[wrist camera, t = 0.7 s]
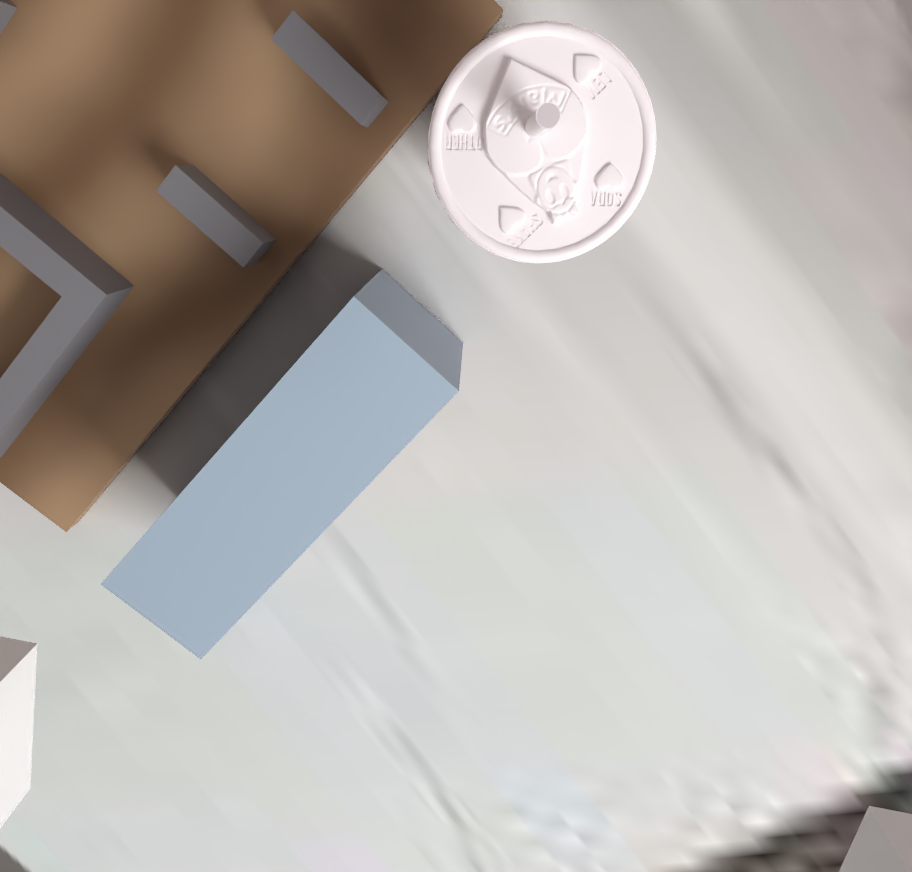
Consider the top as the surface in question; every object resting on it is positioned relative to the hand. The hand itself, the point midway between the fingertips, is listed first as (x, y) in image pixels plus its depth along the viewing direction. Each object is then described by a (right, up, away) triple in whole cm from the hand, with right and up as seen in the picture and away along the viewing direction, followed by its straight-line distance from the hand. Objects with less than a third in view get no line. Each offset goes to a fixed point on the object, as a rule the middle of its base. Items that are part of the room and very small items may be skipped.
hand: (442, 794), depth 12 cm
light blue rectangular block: (-6, +6, +22) cm, 24 cm away
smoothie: (+3, +17, +19) cm, 25 cm away
